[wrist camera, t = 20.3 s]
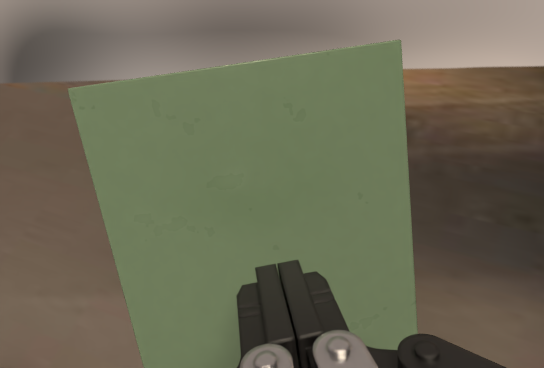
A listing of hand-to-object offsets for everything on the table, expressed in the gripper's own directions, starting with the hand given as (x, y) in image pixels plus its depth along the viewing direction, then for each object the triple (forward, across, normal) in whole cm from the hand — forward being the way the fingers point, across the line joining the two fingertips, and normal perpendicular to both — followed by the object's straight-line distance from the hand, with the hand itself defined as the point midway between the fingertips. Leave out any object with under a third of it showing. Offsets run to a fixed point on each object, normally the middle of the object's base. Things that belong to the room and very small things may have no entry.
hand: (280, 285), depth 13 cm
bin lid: (+5, 0, 0) cm, 5 cm away
